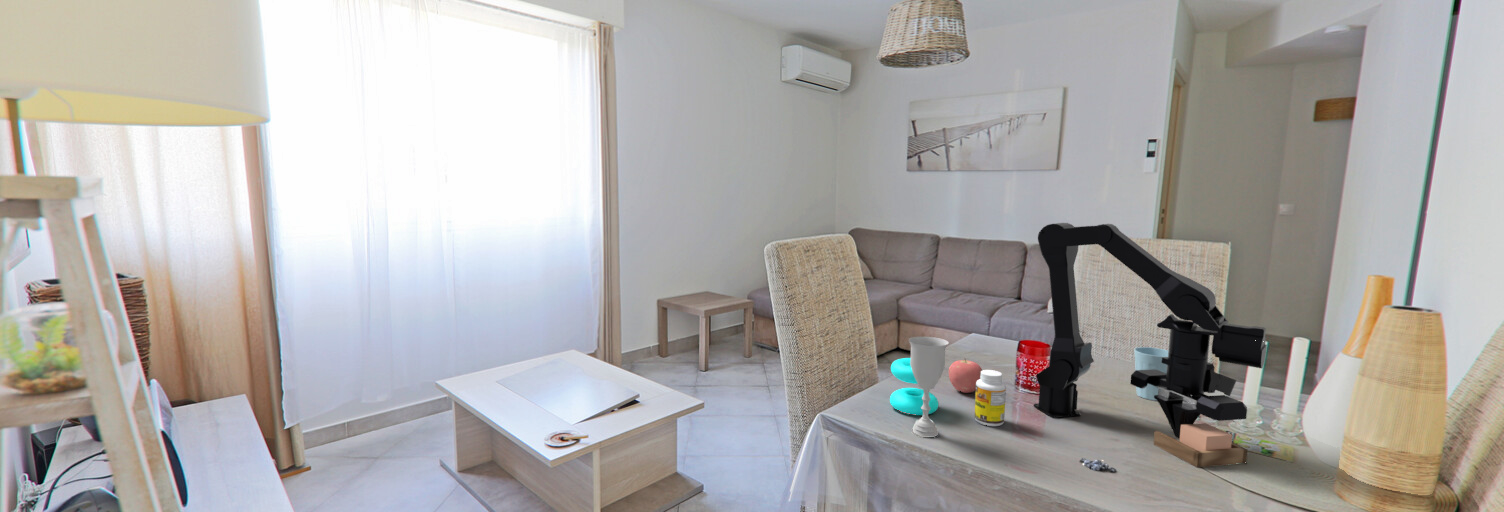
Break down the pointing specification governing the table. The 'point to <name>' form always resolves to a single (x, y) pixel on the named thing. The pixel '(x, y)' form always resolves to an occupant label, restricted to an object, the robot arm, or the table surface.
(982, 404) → the supplement bottle
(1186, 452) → the frame
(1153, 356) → the cup
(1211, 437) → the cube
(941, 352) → the chalice
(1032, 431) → the table surface
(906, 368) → the donuts
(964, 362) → the apple
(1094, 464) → the metal chain
